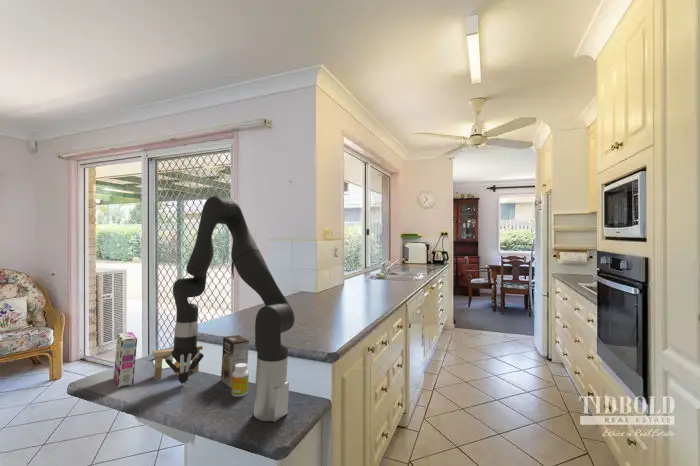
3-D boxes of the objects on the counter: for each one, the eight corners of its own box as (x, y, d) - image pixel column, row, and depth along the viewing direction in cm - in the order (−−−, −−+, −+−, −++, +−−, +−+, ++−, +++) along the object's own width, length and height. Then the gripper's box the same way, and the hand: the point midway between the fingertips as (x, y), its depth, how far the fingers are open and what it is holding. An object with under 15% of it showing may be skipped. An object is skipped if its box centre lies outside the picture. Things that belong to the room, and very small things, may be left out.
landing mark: (189, 364, 139) (189, 364, 139) (156, 370, 132) (156, 369, 132) (183, 356, 149) (183, 356, 149) (152, 360, 142) (152, 360, 142)
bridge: (201, 371, 133) (202, 346, 134) (151, 379, 123) (153, 352, 123) (199, 368, 136) (200, 344, 136) (150, 376, 125) (152, 350, 126)
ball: (192, 363, 134) (193, 372, 129) (177, 370, 132) (177, 381, 127) (185, 352, 131) (186, 362, 126) (170, 360, 129) (169, 370, 124)
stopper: (180, 356, 149) (181, 350, 149) (155, 359, 143) (155, 354, 143) (179, 354, 151) (180, 349, 151) (154, 358, 145) (154, 352, 145)
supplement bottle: (242, 397, 112) (244, 368, 112) (228, 395, 113) (229, 366, 113) (250, 391, 117) (252, 363, 117) (236, 389, 118) (238, 361, 118)
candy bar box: (134, 385, 118) (137, 338, 118) (117, 388, 114) (121, 340, 115) (129, 375, 126) (132, 331, 127) (113, 378, 123) (116, 333, 124)
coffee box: (220, 380, 125) (222, 336, 126) (236, 376, 129) (239, 334, 130) (229, 388, 118) (232, 342, 119) (247, 384, 123) (249, 339, 123)
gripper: (203, 329, 127) (200, 375, 126) (163, 333, 119) (160, 382, 118) (208, 333, 121) (205, 382, 120) (167, 338, 113) (163, 390, 112)
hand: (182, 382), depth 119 cm, fingers closed
